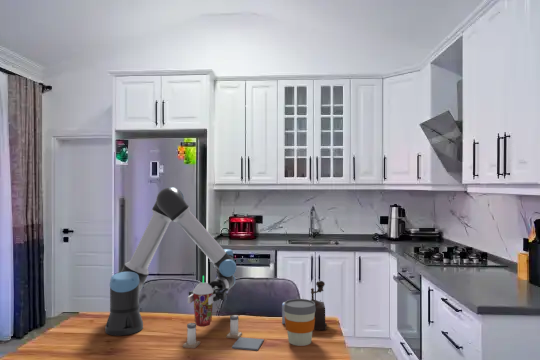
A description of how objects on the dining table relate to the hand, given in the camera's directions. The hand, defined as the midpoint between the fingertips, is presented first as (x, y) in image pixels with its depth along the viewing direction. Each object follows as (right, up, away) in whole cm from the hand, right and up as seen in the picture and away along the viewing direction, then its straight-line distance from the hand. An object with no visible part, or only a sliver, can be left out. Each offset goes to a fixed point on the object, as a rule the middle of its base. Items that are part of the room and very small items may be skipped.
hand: (198, 300), depth 163 cm
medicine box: (+38, -16, +19) cm, 45 cm away
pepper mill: (+48, -16, +17) cm, 53 cm away
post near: (-2, -15, -7) cm, 17 cm away
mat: (+20, -15, -7) cm, 26 cm away
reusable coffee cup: (+40, -15, -3) cm, 43 cm away
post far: (+14, -15, +3) cm, 21 cm away
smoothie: (+1, -11, +4) cm, 12 cm away
